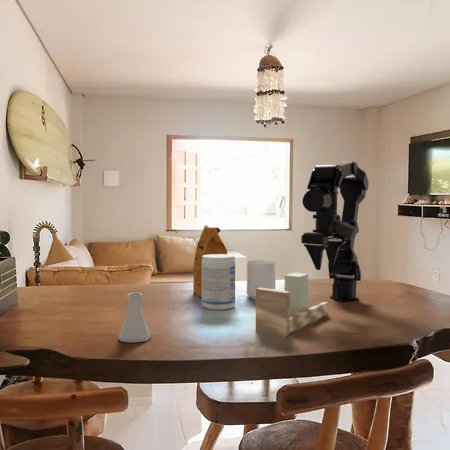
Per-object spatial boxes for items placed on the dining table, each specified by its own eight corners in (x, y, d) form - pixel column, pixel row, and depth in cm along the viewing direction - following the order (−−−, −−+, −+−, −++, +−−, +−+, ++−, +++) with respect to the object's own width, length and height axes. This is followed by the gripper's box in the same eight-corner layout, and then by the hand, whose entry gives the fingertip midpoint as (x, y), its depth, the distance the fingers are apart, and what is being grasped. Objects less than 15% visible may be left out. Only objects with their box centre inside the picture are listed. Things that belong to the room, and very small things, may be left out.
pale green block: (293, 316, 122) (294, 272, 121) (307, 319, 119) (308, 274, 119) (284, 320, 118) (284, 275, 117) (298, 323, 115) (299, 276, 115)
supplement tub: (238, 310, 131) (239, 257, 130) (205, 311, 128) (205, 258, 128) (230, 302, 140) (230, 253, 139) (199, 303, 138) (199, 253, 137)
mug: (277, 300, 143) (278, 263, 143) (248, 300, 143) (249, 264, 142) (270, 292, 155) (270, 258, 155) (243, 292, 155) (244, 258, 154)
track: (301, 311, 130) (301, 275, 129) (327, 315, 125) (328, 278, 125) (255, 331, 110) (255, 288, 110) (285, 337, 106) (285, 293, 105)
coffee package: (218, 290, 158) (218, 224, 156) (230, 297, 146) (231, 227, 145) (189, 291, 155) (189, 225, 153) (199, 299, 143) (199, 227, 142)
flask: (120, 334, 107) (120, 290, 107) (152, 333, 108) (152, 290, 107) (116, 344, 100) (115, 297, 99) (150, 343, 101) (150, 297, 100)
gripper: (341, 212, 116) (340, 275, 117) (366, 211, 131) (365, 266, 132) (300, 211, 123) (299, 271, 124) (329, 210, 138) (328, 263, 139)
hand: (325, 267), depth 129 cm, fingers open, 9 cm apart
